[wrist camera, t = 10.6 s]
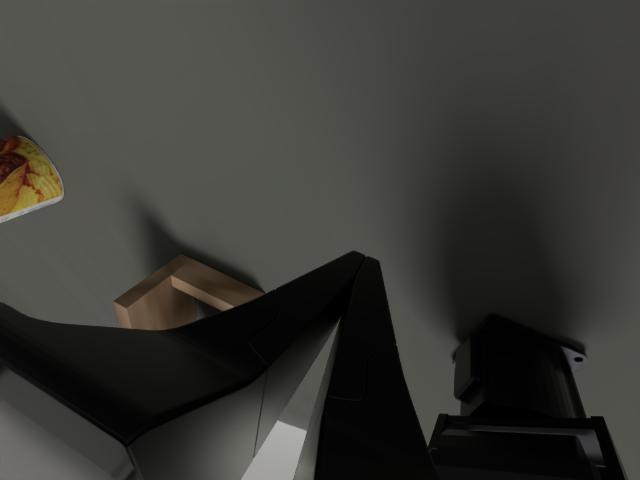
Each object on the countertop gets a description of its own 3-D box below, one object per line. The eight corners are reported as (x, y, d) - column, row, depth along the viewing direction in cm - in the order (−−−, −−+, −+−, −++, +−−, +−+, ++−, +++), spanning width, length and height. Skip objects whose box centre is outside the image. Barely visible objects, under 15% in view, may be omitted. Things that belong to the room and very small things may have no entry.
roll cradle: (265, 293, 31) (213, 355, 25) (254, 381, 41) (214, 442, 34) (180, 253, 33) (113, 301, 27) (189, 346, 43) (141, 397, 37)
